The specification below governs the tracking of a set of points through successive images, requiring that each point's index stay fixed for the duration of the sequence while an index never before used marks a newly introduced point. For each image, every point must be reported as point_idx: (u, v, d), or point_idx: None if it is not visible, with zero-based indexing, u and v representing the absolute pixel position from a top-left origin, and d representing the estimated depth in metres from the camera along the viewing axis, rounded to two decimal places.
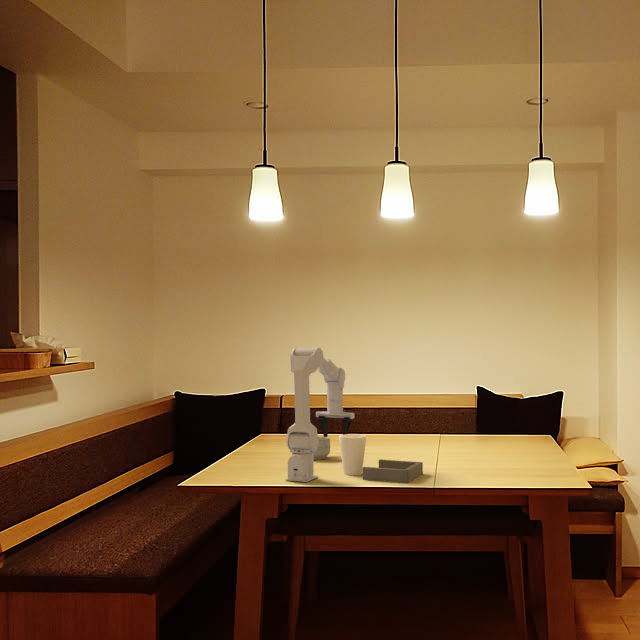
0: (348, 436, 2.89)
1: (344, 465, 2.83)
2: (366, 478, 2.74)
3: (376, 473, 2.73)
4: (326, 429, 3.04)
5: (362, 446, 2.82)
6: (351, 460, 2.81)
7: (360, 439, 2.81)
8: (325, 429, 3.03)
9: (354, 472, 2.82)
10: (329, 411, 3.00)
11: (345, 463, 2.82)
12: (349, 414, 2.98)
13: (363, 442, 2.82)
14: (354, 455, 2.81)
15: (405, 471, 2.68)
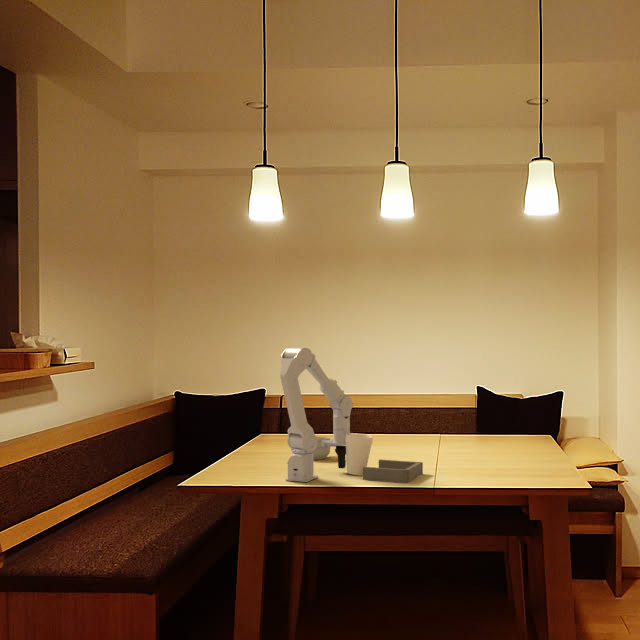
0: (354, 435, 2.88)
1: (348, 464, 2.83)
2: (366, 478, 2.74)
3: (376, 473, 2.73)
4: (344, 460, 2.87)
5: (368, 447, 2.82)
6: (356, 460, 2.81)
7: (366, 440, 2.80)
8: (343, 460, 2.86)
9: (357, 472, 2.81)
10: (335, 440, 2.85)
11: (349, 462, 2.82)
12: None
13: (369, 443, 2.81)
14: (359, 455, 2.81)
15: (405, 471, 2.68)
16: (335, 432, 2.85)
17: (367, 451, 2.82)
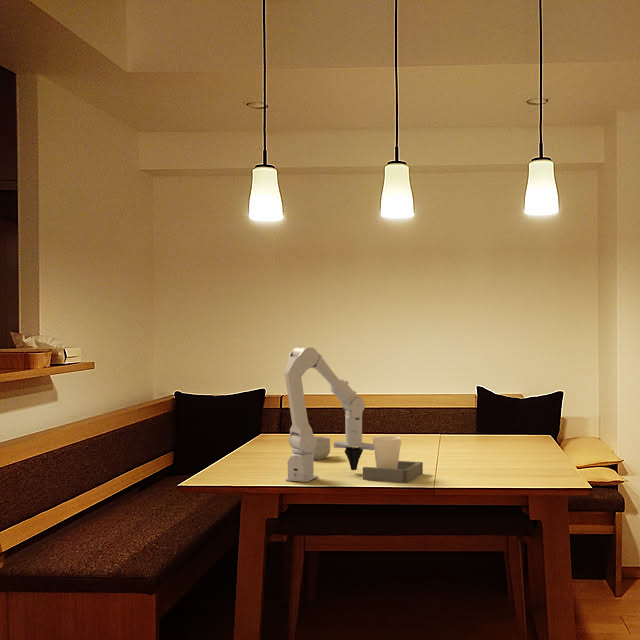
0: (382, 438, 2.84)
1: (378, 467, 2.78)
2: (366, 478, 2.74)
3: (376, 473, 2.73)
4: None
5: (397, 448, 2.77)
6: (386, 462, 2.76)
7: (395, 441, 2.76)
8: None
9: None
10: (347, 442, 2.83)
11: (380, 465, 2.77)
12: (369, 445, 2.81)
13: (398, 444, 2.77)
14: (389, 458, 2.76)
15: (405, 471, 2.68)
16: (347, 433, 2.83)
17: (397, 453, 2.77)
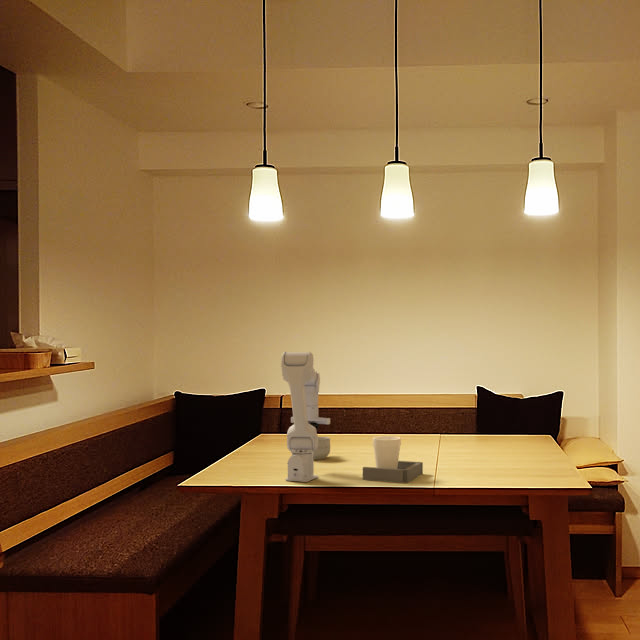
0: (382, 438, 2.84)
1: (378, 467, 2.78)
2: (366, 478, 2.74)
3: (376, 473, 2.73)
4: None
5: (397, 448, 2.77)
6: (386, 462, 2.76)
7: (395, 441, 2.76)
8: None
9: None
10: None
11: (379, 465, 2.77)
12: (324, 420, 2.88)
13: (398, 444, 2.77)
14: (389, 458, 2.76)
15: (405, 471, 2.68)
16: None
17: (396, 453, 2.77)
